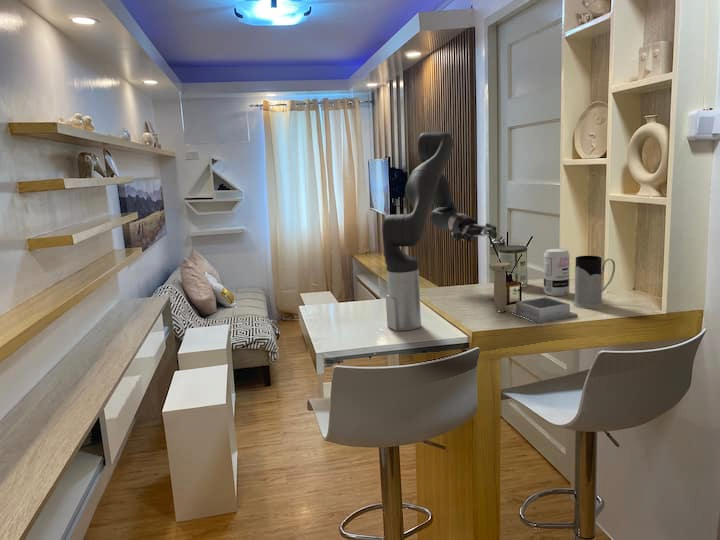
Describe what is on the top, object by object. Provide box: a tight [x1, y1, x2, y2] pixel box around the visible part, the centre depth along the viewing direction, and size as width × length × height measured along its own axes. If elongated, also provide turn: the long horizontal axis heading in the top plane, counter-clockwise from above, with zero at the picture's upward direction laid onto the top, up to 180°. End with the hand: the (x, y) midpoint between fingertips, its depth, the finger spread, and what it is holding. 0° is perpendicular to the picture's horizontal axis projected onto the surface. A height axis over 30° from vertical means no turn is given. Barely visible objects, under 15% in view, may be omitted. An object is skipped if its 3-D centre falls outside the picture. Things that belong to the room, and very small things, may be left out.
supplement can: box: [543, 248, 571, 297], centre depth 203 cm, size 8×8×15 cm
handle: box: [488, 262, 511, 313], centre depth 186 cm, size 5×6×15 cm
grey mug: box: [572, 255, 616, 309], centre depth 188 cm, size 9×14×15 cm, turn 108°
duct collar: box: [508, 296, 578, 325], centre depth 180 cm, size 14×14×4 cm
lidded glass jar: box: [497, 244, 529, 289], centre depth 219 cm, size 10×10×14 cm
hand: (483, 237), depth 192 cm, fingers open, 8 cm apart
